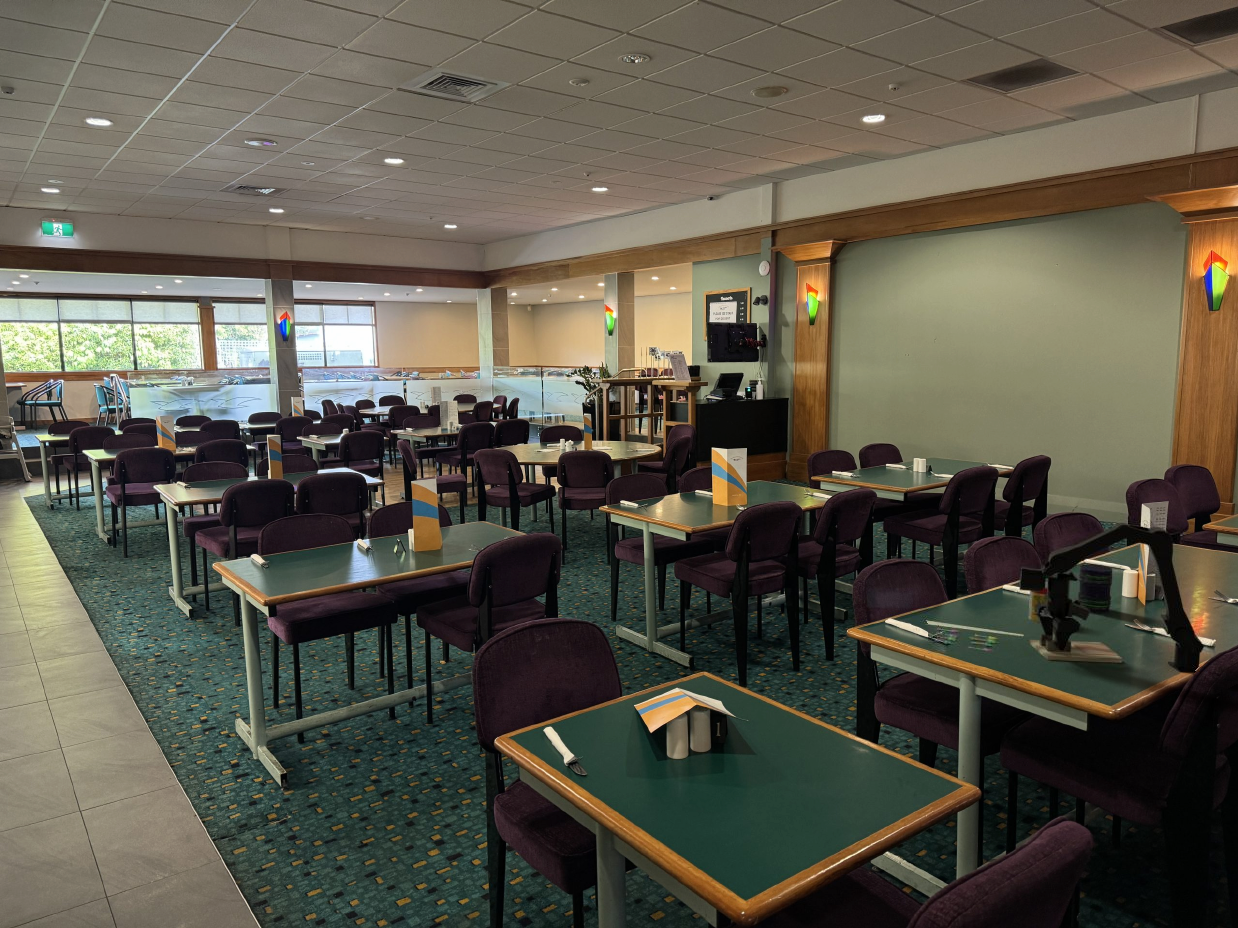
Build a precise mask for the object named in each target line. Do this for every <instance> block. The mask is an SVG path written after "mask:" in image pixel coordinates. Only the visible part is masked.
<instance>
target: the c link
mask: <svg viewBox="0 0 1238 928" xmlns="http://www.w3.org/2000/svg"><path fill="white" fill-rule="evenodd" d="M1053 635H1054V634H1053ZM1053 635H1045V633H1043V634H1041V633H1040V634H1039V639H1038V640H1039V644H1040V645H1041V646H1046V649H1045V650H1047V651H1051V652H1071V642H1070V641H1071V640H1070V639H1068V642H1067V644H1066V646H1065V648H1064V650H1063V651H1060V650H1059V648H1058V645H1057V641H1056V640H1053Z"/></svg>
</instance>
